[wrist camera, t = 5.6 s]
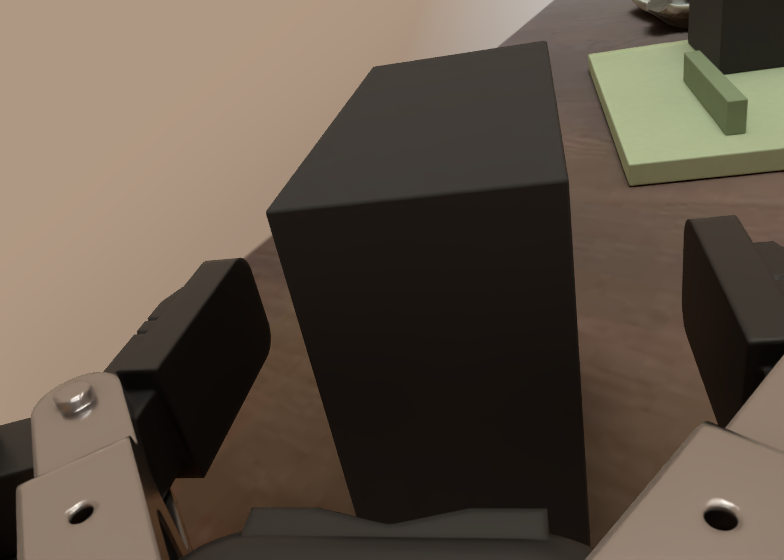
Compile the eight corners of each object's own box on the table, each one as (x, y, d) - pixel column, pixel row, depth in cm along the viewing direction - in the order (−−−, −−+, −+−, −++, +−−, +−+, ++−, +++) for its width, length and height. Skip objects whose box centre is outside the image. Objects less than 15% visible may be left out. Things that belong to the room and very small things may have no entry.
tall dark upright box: (386, 621, 14) (263, 211, 9) (430, 370, 20) (372, 66, 16) (595, 629, 13) (568, 178, 8) (568, 364, 19) (546, 39, 15)
